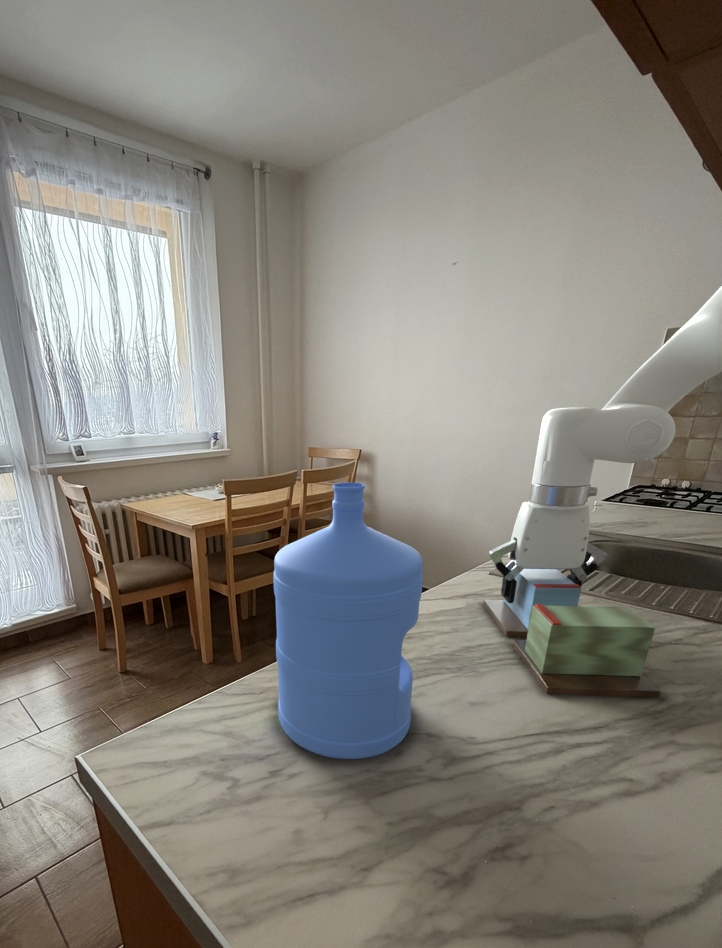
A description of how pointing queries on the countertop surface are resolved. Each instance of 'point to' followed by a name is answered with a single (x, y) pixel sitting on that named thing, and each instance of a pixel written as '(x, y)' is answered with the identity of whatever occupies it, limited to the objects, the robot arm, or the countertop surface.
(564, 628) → the near tissue box
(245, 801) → the countertop surface
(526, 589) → the far tissue box
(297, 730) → the water jug
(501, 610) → the dark brown base plate
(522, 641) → the brown wooden board
